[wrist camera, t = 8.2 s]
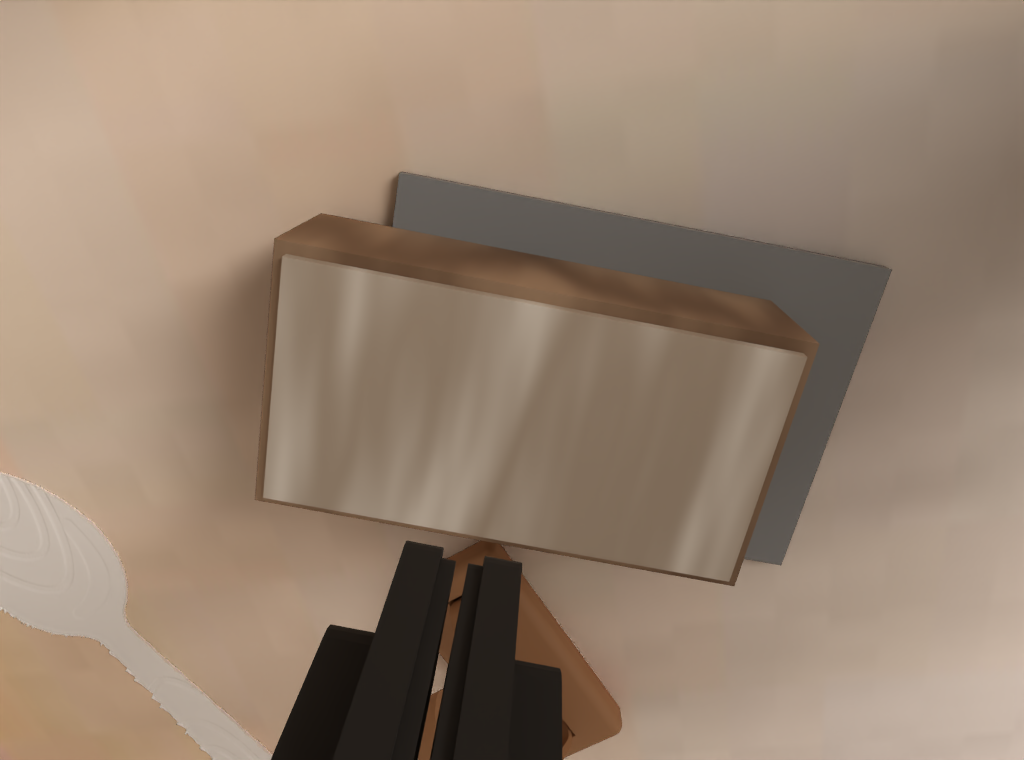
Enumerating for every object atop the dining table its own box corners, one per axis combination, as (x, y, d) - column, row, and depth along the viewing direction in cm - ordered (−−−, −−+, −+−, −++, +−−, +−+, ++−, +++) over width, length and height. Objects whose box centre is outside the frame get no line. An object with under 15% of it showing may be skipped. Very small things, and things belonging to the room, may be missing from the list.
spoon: (253, 830, 31) (248, 842, 30) (-91, 509, 26) (-103, 517, 25) (355, 778, 30) (351, 789, 29) (15, 431, 25) (4, 438, 24)
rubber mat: (885, 266, 22) (891, 269, 21) (777, 558, 25) (781, 565, 25) (401, 171, 21) (399, 172, 21) (361, 482, 25) (358, 488, 24)
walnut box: (321, 213, 21) (771, 300, 22) (299, 435, 24) (703, 509, 24) (269, 241, 17) (823, 347, 18) (250, 505, 20) (737, 592, 20)
